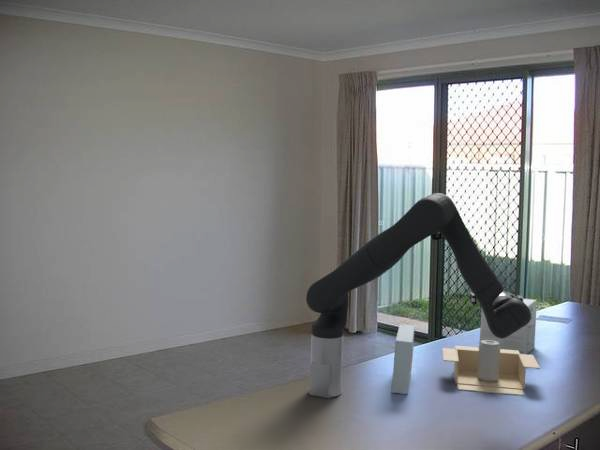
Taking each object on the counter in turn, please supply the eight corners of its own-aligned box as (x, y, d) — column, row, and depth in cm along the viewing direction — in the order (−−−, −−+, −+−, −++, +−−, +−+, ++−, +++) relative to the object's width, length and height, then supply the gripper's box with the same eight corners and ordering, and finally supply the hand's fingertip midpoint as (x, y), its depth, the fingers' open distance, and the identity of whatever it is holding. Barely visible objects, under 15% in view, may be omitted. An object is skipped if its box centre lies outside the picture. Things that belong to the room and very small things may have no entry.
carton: (540, 397, 198) (542, 372, 197) (442, 388, 203) (443, 364, 203) (529, 373, 220) (531, 351, 219) (441, 366, 225) (442, 344, 224)
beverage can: (498, 377, 213) (501, 340, 212) (497, 383, 207) (500, 345, 206) (478, 375, 215) (480, 338, 214) (476, 381, 209) (478, 343, 208)
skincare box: (409, 395, 197) (412, 341, 195) (391, 393, 198) (393, 340, 196) (412, 373, 217) (414, 324, 216) (395, 371, 219) (397, 323, 217)
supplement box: (535, 347, 251) (538, 299, 249) (526, 356, 240) (529, 306, 238) (489, 339, 260) (491, 293, 259) (478, 347, 249) (480, 299, 247)
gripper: (528, 293, 180) (519, 283, 196) (473, 290, 183) (469, 280, 198) (527, 321, 181) (518, 309, 197) (472, 317, 183) (467, 306, 199)
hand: (493, 295), depth 198 cm, fingers open, 8 cm apart
